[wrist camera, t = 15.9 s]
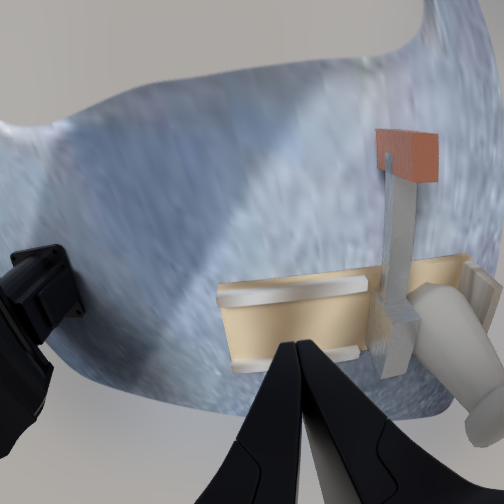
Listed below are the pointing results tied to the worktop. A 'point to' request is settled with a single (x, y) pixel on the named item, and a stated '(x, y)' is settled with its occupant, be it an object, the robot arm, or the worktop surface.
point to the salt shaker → (461, 358)
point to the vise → (332, 308)
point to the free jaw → (398, 246)
